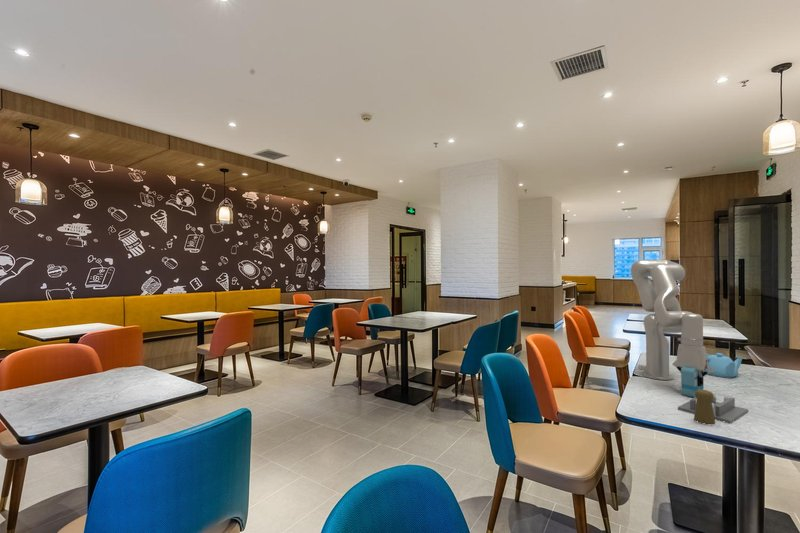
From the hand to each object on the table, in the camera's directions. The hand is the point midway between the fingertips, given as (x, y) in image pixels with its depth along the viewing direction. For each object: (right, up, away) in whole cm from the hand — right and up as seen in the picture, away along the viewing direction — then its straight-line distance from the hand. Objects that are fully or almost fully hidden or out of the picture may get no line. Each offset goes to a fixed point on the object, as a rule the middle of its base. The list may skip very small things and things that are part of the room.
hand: (692, 383), depth 164 cm
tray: (-7, -4, -19) cm, 21 cm away
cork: (-18, -5, -29) cm, 34 cm away
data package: (0, -5, 0) cm, 5 cm away
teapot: (+37, -5, +29) cm, 47 cm away
